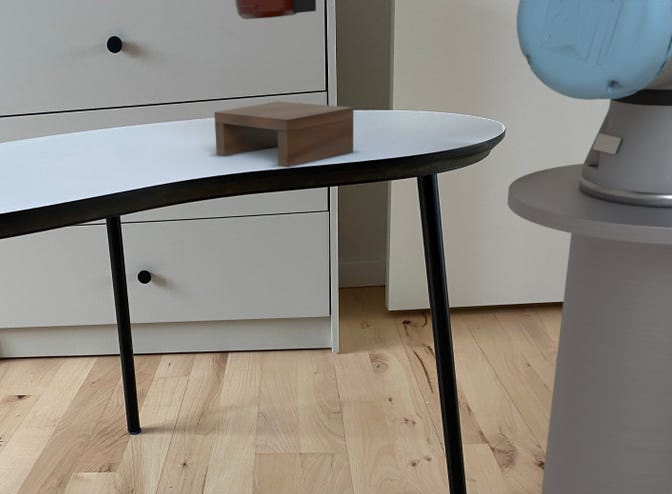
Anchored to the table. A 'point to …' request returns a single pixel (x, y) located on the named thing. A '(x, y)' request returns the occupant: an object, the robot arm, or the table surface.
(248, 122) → the shelf
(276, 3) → the mug
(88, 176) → the table surface
